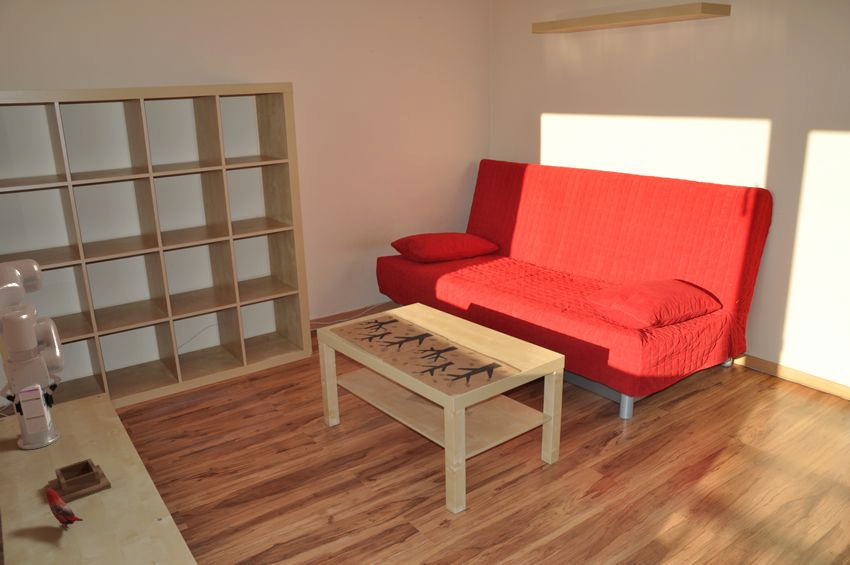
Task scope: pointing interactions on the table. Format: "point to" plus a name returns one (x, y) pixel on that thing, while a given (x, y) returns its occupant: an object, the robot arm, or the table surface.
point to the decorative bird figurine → (60, 509)
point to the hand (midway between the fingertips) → (35, 409)
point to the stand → (79, 481)
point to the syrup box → (35, 409)
